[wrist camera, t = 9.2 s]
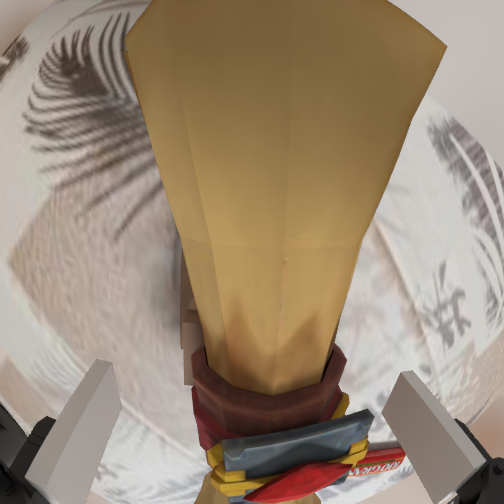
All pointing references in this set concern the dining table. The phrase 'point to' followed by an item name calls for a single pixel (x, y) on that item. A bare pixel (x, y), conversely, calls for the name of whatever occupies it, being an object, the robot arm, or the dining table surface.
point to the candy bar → (378, 462)
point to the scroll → (276, 212)
